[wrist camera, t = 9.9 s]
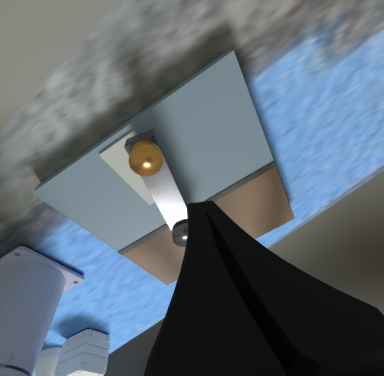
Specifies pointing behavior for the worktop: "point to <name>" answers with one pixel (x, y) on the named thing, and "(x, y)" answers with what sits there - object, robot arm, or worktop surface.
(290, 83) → the worktop surface
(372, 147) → the worktop surface
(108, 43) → the worktop surface
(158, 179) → the lock bar
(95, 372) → the container set
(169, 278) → the jamb board
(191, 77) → the door leaf
